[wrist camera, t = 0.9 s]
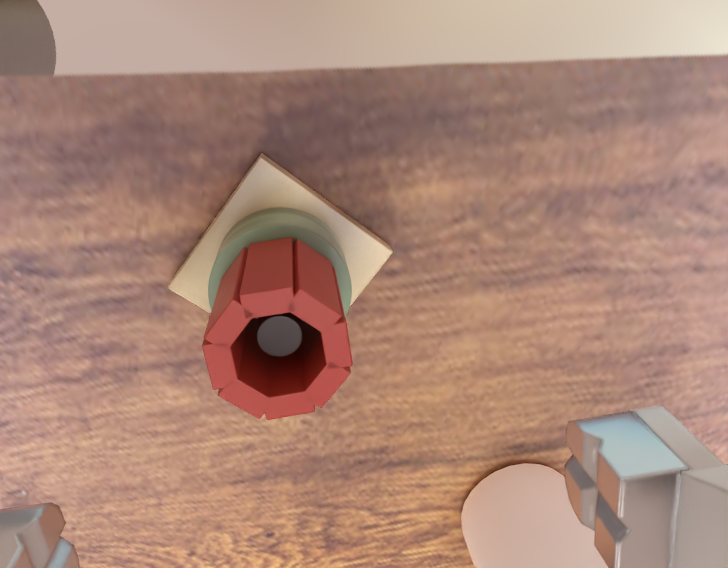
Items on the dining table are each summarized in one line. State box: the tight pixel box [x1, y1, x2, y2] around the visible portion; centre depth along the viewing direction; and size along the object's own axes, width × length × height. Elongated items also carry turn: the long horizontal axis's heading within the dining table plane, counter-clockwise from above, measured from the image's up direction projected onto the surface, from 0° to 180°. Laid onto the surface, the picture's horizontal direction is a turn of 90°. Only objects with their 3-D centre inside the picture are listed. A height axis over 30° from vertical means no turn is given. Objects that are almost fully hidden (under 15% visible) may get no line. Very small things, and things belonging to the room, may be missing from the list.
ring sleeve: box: [202, 237, 353, 420], centre depth 31 cm, size 6×6×8 cm
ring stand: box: [168, 153, 393, 357], centre depth 34 cm, size 10×10×11 cm
